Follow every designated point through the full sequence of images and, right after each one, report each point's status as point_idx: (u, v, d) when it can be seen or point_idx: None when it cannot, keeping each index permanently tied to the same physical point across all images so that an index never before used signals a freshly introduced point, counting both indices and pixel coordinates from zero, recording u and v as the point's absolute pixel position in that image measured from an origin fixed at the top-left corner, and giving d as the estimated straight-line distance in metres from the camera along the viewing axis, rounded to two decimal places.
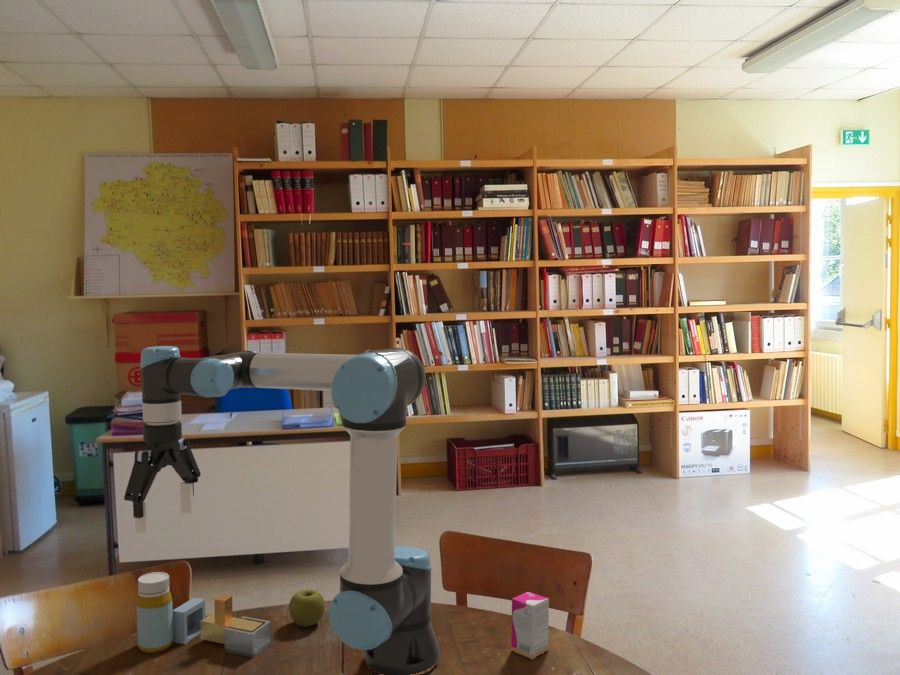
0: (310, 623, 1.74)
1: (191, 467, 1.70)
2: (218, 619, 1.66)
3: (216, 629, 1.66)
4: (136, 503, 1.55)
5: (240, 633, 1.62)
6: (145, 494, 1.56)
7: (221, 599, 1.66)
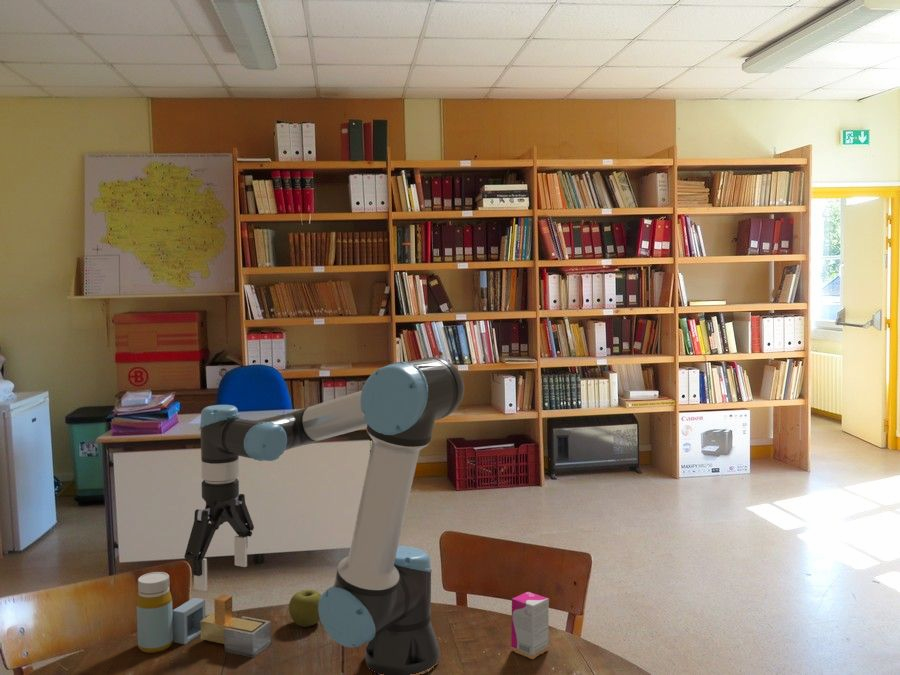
0: (310, 623, 1.74)
1: (245, 521, 1.73)
2: (218, 619, 1.66)
3: (216, 629, 1.66)
4: (196, 561, 1.58)
5: (240, 633, 1.62)
6: (204, 552, 1.59)
7: (221, 599, 1.66)
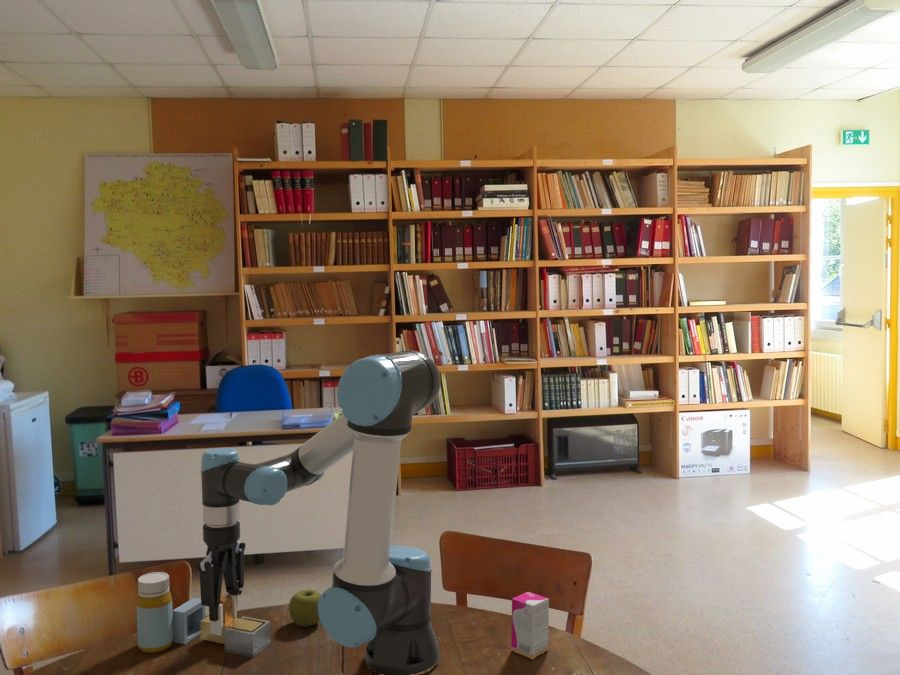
0: (310, 623, 1.74)
1: (238, 574, 1.71)
2: None
3: None
4: (212, 607, 1.63)
5: (240, 633, 1.62)
6: (219, 598, 1.64)
7: (221, 599, 1.66)
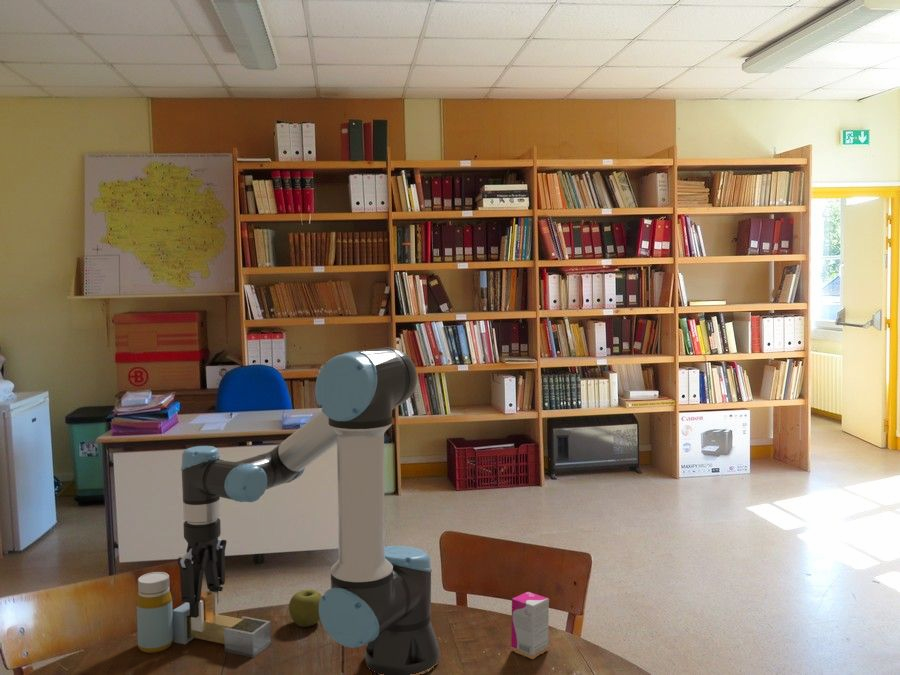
0: (310, 623, 1.74)
1: (219, 571, 1.73)
2: None
3: None
4: (192, 604, 1.65)
5: (240, 633, 1.62)
6: (199, 594, 1.66)
7: (201, 596, 1.68)
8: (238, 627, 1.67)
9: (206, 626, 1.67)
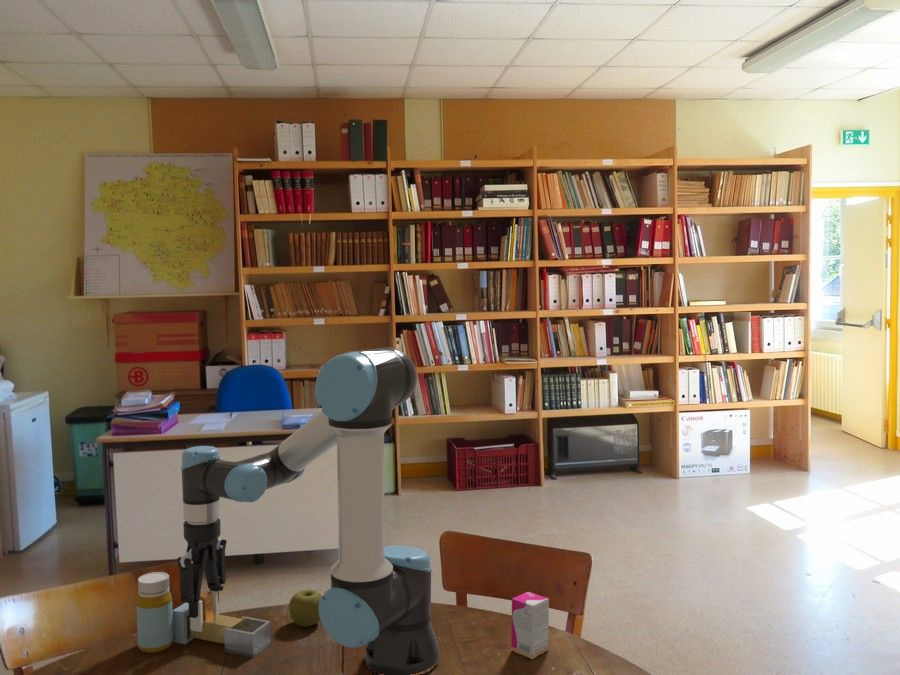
0: (310, 623, 1.74)
1: (219, 571, 1.73)
2: None
3: None
4: (192, 604, 1.65)
5: (240, 633, 1.62)
6: (198, 594, 1.65)
7: (201, 596, 1.68)
8: (238, 627, 1.67)
9: (206, 626, 1.67)
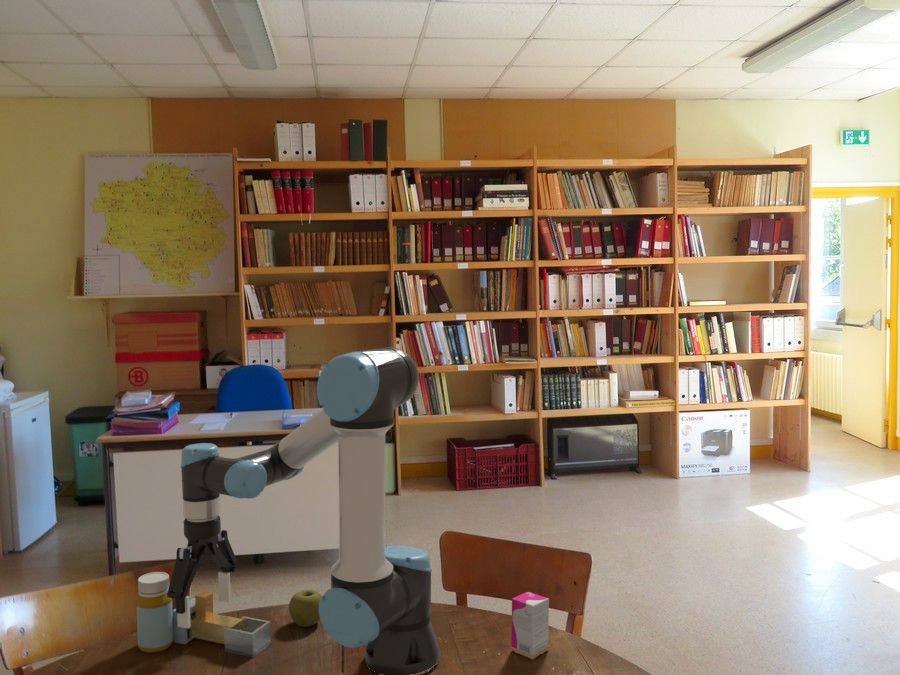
0: (310, 623, 1.74)
1: (228, 557, 1.75)
2: (199, 616, 1.68)
3: (197, 625, 1.68)
4: (178, 599, 1.61)
5: (240, 633, 1.62)
6: (187, 590, 1.62)
7: (201, 596, 1.68)
8: (238, 627, 1.67)
9: (206, 626, 1.67)
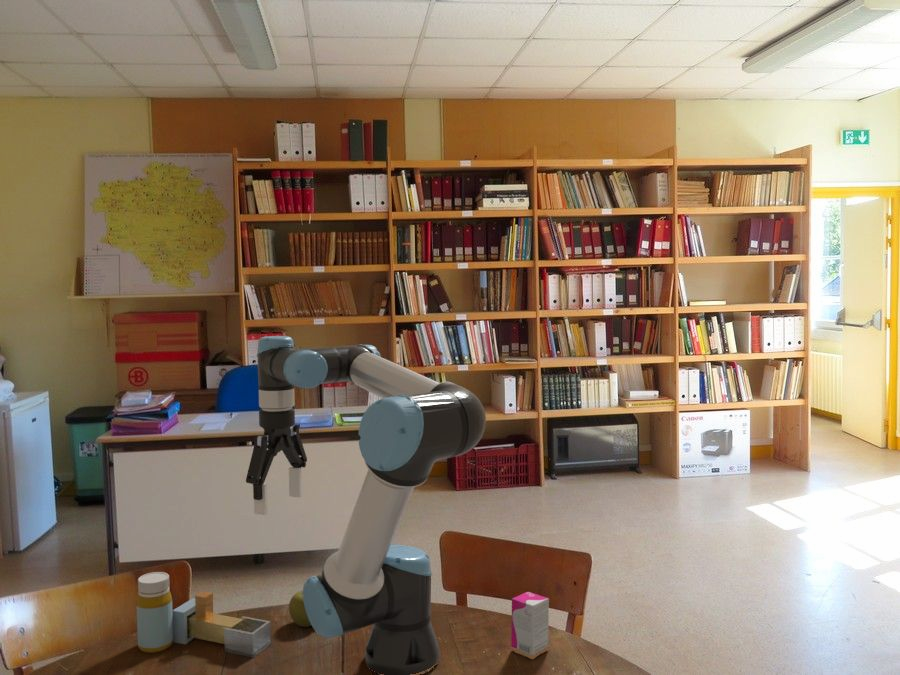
0: (310, 623, 1.74)
1: (299, 452, 1.77)
2: (199, 616, 1.68)
3: (197, 625, 1.68)
4: (256, 485, 1.62)
5: (240, 633, 1.62)
6: (264, 477, 1.63)
7: (201, 596, 1.68)
8: (238, 627, 1.67)
9: (206, 626, 1.67)
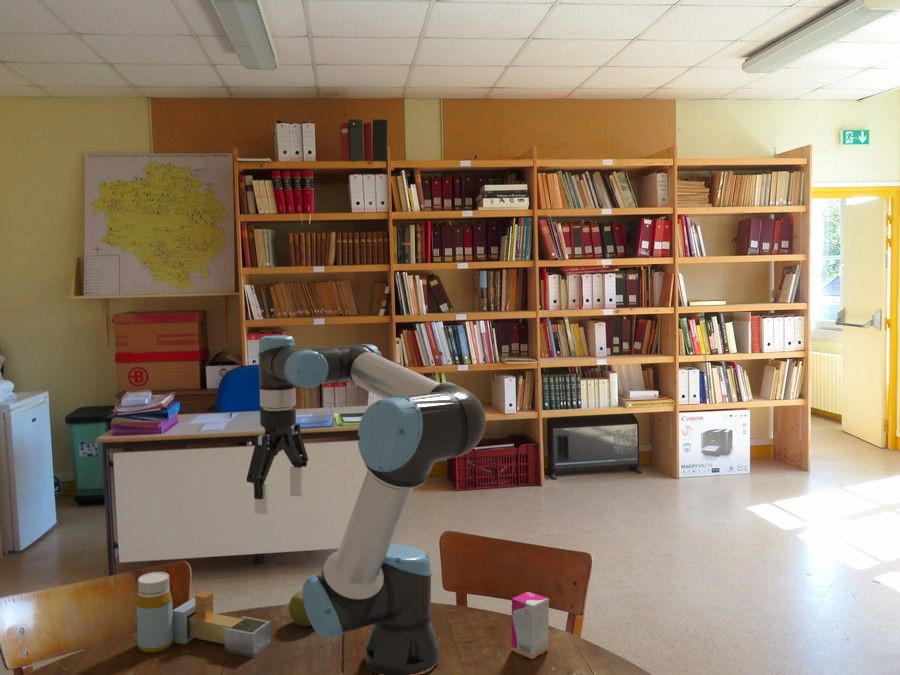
0: (310, 623, 1.74)
1: (300, 452, 1.77)
2: (199, 616, 1.68)
3: (197, 625, 1.68)
4: (257, 485, 1.62)
5: (240, 633, 1.62)
6: (265, 476, 1.63)
7: (201, 596, 1.68)
8: (238, 627, 1.67)
9: (206, 626, 1.67)
